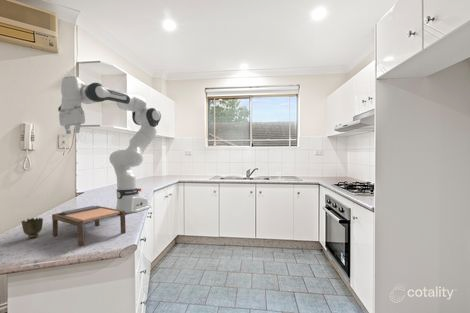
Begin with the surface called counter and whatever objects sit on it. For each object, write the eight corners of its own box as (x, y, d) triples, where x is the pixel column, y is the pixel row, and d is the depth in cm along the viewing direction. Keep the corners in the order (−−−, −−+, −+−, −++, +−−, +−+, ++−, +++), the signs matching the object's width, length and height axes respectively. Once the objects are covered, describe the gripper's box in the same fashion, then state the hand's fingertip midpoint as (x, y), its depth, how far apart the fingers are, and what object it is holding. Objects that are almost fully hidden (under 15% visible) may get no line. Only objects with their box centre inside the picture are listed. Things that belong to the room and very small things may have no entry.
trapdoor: (95, 210, 126) (95, 205, 126) (119, 215, 114) (119, 209, 114) (59, 217, 112) (59, 212, 112) (83, 224, 101) (82, 218, 101)
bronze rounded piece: (31, 240, 107) (30, 222, 107) (17, 239, 108) (16, 221, 108) (47, 235, 114) (47, 217, 114) (34, 234, 116) (33, 217, 116)
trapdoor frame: (97, 225, 129) (97, 205, 128) (125, 232, 116) (125, 210, 115) (52, 236, 112) (52, 214, 112) (79, 246, 99) (78, 221, 99)
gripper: (88, 105, 129) (88, 132, 130) (69, 110, 141) (70, 134, 141) (74, 104, 124) (75, 131, 124) (56, 108, 135) (57, 134, 135)
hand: (72, 133), depth 133 cm, fingers open, 8 cm apart
